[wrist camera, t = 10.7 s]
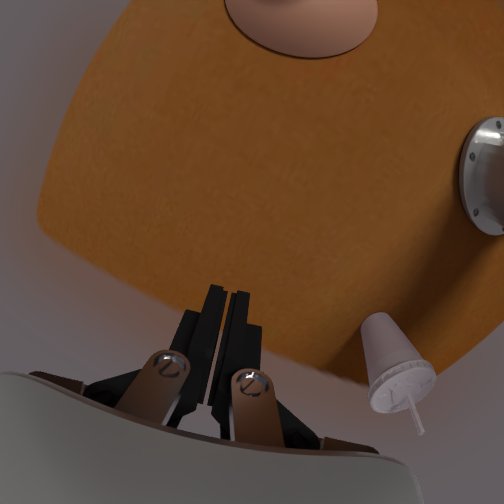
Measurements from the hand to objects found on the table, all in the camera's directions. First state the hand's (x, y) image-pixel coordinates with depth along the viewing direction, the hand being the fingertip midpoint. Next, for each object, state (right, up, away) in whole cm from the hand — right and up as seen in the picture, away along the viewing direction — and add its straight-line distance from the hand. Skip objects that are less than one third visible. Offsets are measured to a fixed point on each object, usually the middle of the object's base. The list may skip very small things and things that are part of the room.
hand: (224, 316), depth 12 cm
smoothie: (+15, -5, +16) cm, 23 cm away
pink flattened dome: (+5, +24, +4) cm, 25 cm away
